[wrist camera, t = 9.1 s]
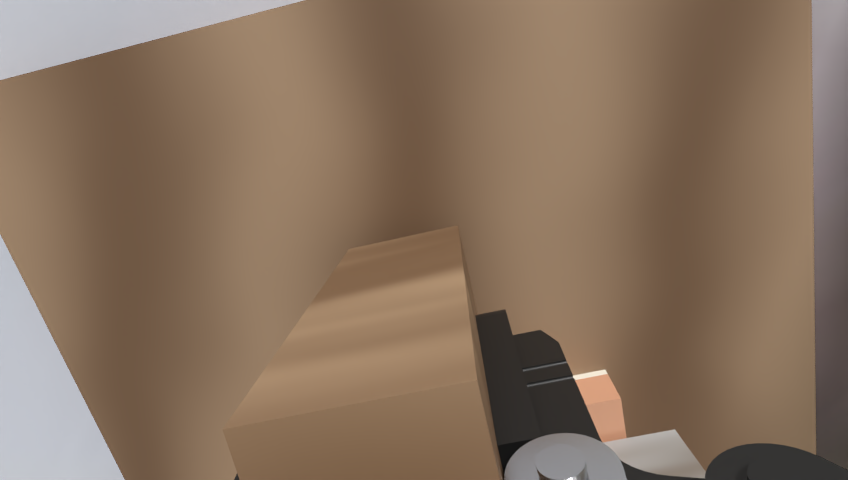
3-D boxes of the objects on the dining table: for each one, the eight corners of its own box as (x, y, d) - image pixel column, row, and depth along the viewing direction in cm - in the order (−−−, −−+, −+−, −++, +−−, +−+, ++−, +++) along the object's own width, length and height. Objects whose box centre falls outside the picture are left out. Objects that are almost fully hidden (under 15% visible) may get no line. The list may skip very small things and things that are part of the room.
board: (764, -111, 12) (810, -133, 10) (785, 537, 17) (817, 581, 16) (-15, 92, 13) (-69, 98, 12) (238, 626, 19) (223, 673, 17)
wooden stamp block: (183, 285, 12) (-143, 500, 5) (638, 185, 11) (925, 292, 5) (262, 518, 14) (77, 929, 7) (676, 444, 13) (946, 829, 6)
